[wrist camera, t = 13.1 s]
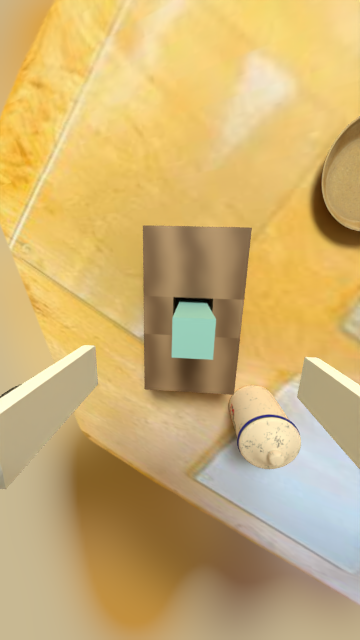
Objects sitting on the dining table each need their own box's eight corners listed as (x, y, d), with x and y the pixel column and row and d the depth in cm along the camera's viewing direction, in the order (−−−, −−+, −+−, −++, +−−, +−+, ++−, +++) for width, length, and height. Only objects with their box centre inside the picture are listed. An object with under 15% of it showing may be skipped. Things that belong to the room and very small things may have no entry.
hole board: (240, 236, 30) (251, 227, 25) (226, 375, 36) (233, 394, 30) (152, 234, 31) (143, 225, 25) (152, 371, 37) (144, 389, 31)
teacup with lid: (218, 398, 37) (229, 452, 26) (260, 374, 36) (292, 421, 24) (250, 442, 39) (275, 511, 28) (292, 421, 37) (336, 485, 26)
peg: (205, 300, 31) (216, 319, 18) (203, 324, 32) (212, 359, 19) (180, 299, 32) (172, 317, 18) (179, 323, 32) (171, 357, 19)
